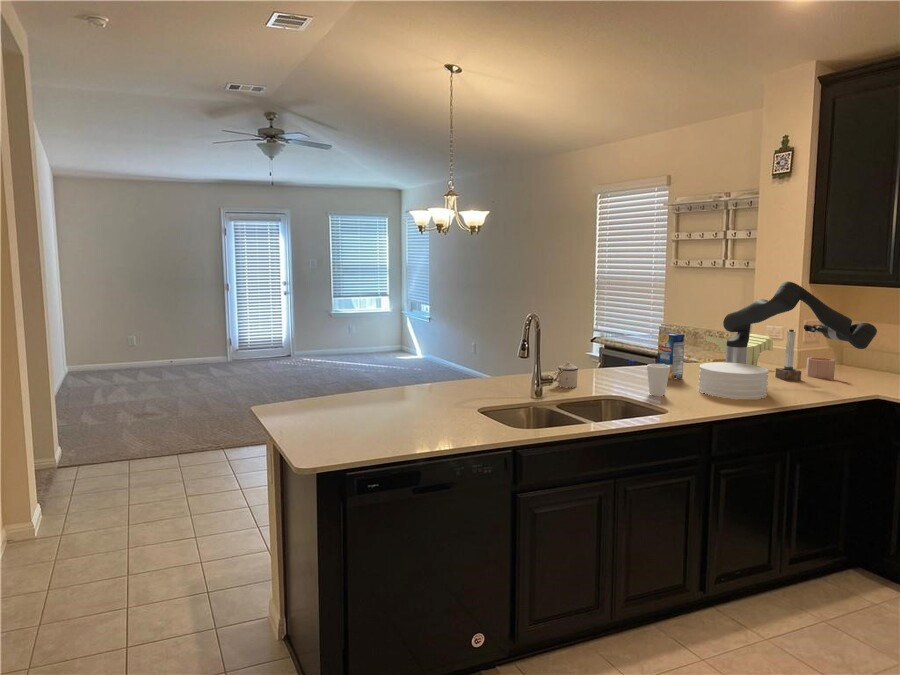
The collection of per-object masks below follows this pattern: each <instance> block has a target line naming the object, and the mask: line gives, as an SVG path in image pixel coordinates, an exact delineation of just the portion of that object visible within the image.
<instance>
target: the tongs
mask: <svg viewBox="0 0 900 675" xmlns="http://www.w3.org/2000/svg"><path fill="white" fill-rule="evenodd" d="M795 342H796V331H795V330H794V329H792V328H791V329H790V328H789V330H788V331H786V345H785V359H784V366H783V368H784V370H786V371H793V369H794V366H793V365H794V355H795V354H794V353H795Z"/></svg>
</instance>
